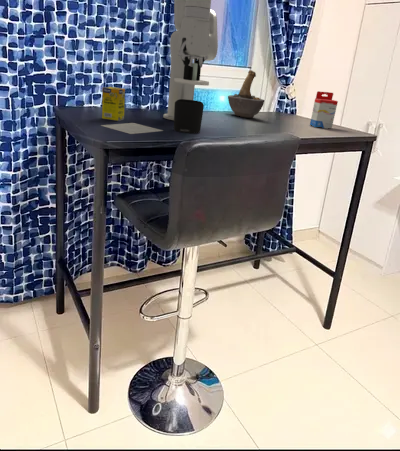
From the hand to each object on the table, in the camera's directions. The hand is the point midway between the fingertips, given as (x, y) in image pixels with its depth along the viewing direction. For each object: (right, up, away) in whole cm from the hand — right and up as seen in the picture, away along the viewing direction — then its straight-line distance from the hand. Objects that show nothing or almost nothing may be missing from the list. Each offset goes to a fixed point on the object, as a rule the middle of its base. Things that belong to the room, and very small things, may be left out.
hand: (191, 79), depth 131 cm
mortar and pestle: (+22, +3, +57) cm, 62 cm away
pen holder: (-2, -15, +7) cm, 17 cm away
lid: (0, -1, 0) cm, 1 cm away
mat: (-19, -16, +1) cm, 25 cm away
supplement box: (-27, -10, +13) cm, 32 cm away
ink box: (+56, -3, +51) cm, 76 cm away
